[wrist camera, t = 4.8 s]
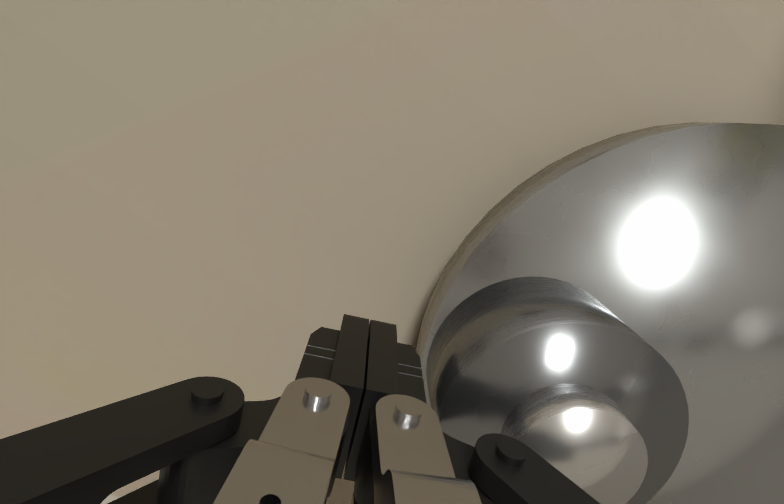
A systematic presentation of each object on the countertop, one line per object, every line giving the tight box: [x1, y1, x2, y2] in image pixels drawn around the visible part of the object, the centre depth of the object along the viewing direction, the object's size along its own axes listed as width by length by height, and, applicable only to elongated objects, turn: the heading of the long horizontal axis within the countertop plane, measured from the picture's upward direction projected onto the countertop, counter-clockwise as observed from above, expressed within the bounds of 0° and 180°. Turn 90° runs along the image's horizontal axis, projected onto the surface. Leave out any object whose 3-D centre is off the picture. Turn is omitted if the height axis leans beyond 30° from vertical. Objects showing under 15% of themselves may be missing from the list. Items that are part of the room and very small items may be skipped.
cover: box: [426, 276, 689, 504], centre depth 12 cm, size 6×6×4 cm
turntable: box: [416, 123, 784, 504], centre depth 14 cm, size 17×17×6 cm
